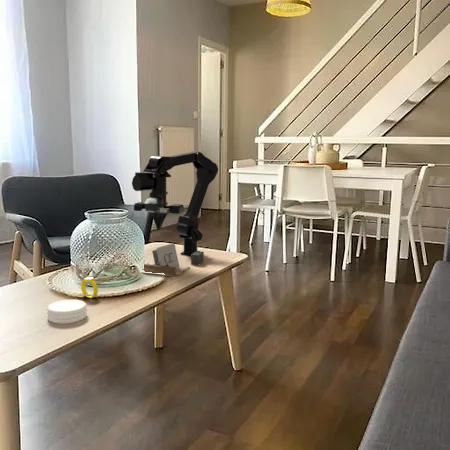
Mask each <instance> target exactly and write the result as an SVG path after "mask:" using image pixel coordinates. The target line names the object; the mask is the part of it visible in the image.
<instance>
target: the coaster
mask: <svg viewBox="0 0 450 450" xmlns="http://www.w3.org/2000/svg"><path fill="white" fill-rule="evenodd" d="M87 306H88V305H87V303H86V302H85V301H83V300H80V299H62V300H58V301H54V302H51V303H50V304H49V305H47V308H46V310H47V316H46V317H47V320H48V321H49V322H51V323H54V324H59V325H60V324H61V325H62V324H63V325H65V324H73V323H74V324H75V323H77V322H81V321H82V320H84V319H86V317H87V315H88V314H87V311H88V309H87Z"/></svg>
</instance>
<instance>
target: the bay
mask: <svg viewBox="0 0 450 450" xmlns="http://www.w3.org/2000/svg"><path fill="white" fill-rule="evenodd" d="M143 264H144V269H143V268H142V270H144V271H145V272H152V273H164V274H165V275H166V277H167V276H168V277H177V276H179V277H180V276H182V275H183V274H184V273H185V272H186V271H188V270H190V268H191V267H190V266H187V267H185V268H184V269H182V270H181V271H180V272H179V273H178V274H177V269H176V267H171V266H161V265H155V263H152V264H148V263H143ZM165 275H164V276H165Z"/></svg>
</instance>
